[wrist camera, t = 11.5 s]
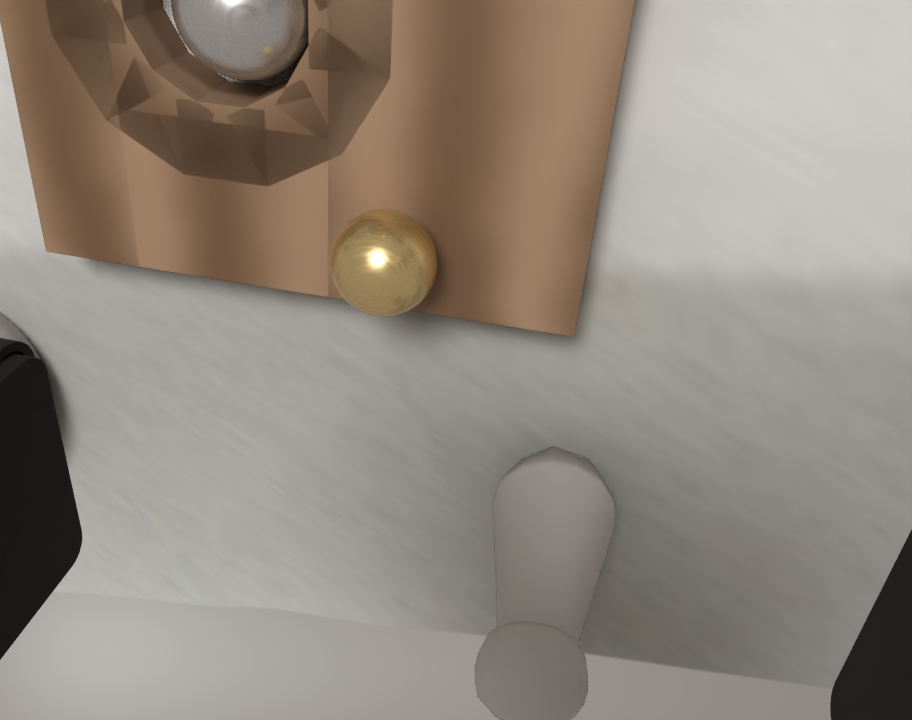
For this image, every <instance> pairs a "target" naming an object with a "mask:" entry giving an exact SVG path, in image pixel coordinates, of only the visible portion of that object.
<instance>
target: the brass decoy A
mask: <svg viewBox="0 0 912 720" xmlns="http://www.w3.org/2000/svg"><path fill="white" fill-rule="evenodd" d="M330 269H331V275H332V278H333V281H334V284H335V286H336V288H337V290H338V291H339V293H340V294H341V296H342V297H343V298H344V299H345V300H346V301H347V302H348V303H349V304H350V305H352V306H353V307H354V308H356V309H358V310H359V311H362V312H364V313H367V314H369V315H374V316H381V317H384V316H394V315H399V314H402V313H404V312H407V311H409V310H410V309H412V308H414V307H415V306H416V305H418V304H419V303H420V302H421V301H422V300H423V299H424V298H425V297H426V295H427V294H428V292H429V291H430V289H431V287H432V285H433V283H434V279H435V276H436V271H437V255H436V250H435V247H434V244H433V242H432V239H431V237H430V236H429V234H428V233H427V231H426V230H425V229H424V227H423V226H422V225H421V224H420V223H418V222H417V221H416V220H415V219H413V218H412V217H410V216H408V215H406V214H404V213H402V212H399V211H395V210H389V209H377V210H371V211H367V212H364V213H362V214H360V215H358V216H356V217H355V218H353V219H352V220H350V221H349V222H348V223H347V224H346V225H345V226H344V227H343V228H342V229H341V231H340V232H339V234H338V235H337V237H336V239H335V241H334V243H333V246H332V250H331V255H330Z"/></svg>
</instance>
